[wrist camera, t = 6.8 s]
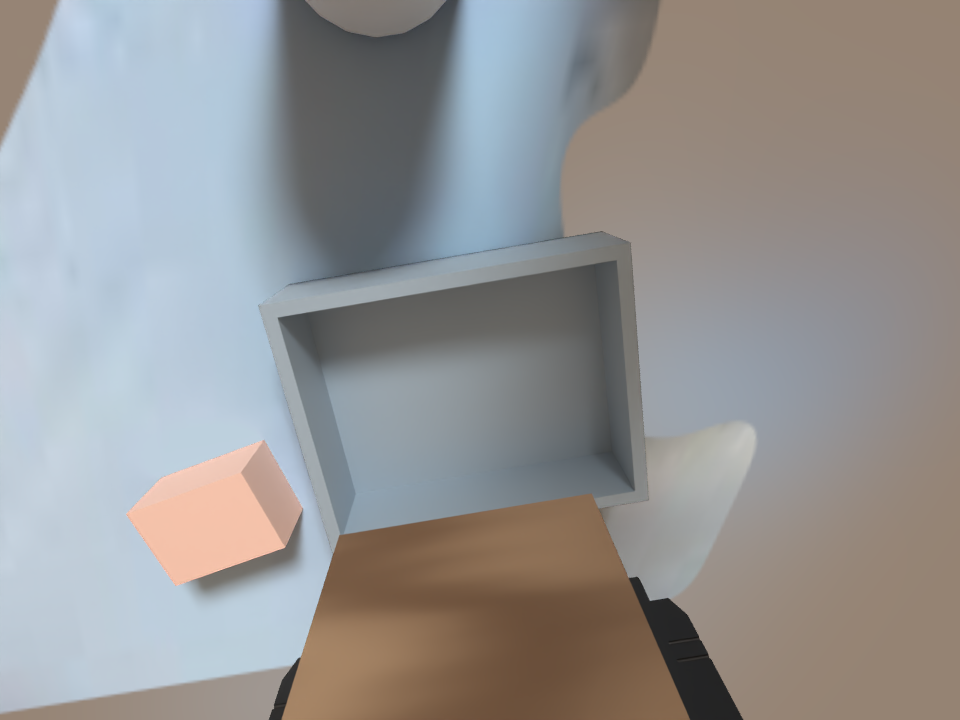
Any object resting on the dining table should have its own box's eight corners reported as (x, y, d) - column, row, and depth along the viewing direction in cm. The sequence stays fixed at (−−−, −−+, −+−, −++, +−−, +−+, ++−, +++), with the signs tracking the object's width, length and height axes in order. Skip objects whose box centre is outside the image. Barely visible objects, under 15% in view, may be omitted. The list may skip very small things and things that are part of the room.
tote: (289, 284, 26) (258, 305, 22) (601, 231, 26) (630, 242, 22) (349, 499, 30) (332, 552, 26) (621, 453, 30) (648, 500, 26)
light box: (163, 475, 29) (126, 514, 26) (265, 438, 29) (241, 472, 26) (205, 541, 31) (175, 585, 27) (303, 506, 30) (285, 547, 27)
